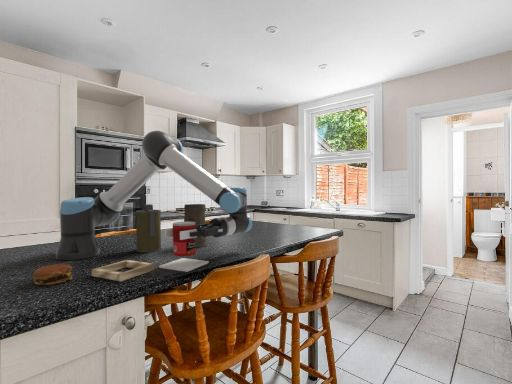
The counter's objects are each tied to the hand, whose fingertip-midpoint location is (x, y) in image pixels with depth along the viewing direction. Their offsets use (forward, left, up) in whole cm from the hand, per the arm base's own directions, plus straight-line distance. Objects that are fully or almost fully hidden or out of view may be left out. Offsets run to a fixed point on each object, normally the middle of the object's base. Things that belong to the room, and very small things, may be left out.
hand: (172, 234), depth 96 cm
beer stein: (-18, +37, -12) cm, 42 cm away
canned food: (+1, +5, -8) cm, 9 cm away
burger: (-23, -25, -12) cm, 36 cm away
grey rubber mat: (+1, +5, -11) cm, 12 cm away
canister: (-30, +19, -12) cm, 37 cm away
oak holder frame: (-11, -10, -11) cm, 19 cm away
